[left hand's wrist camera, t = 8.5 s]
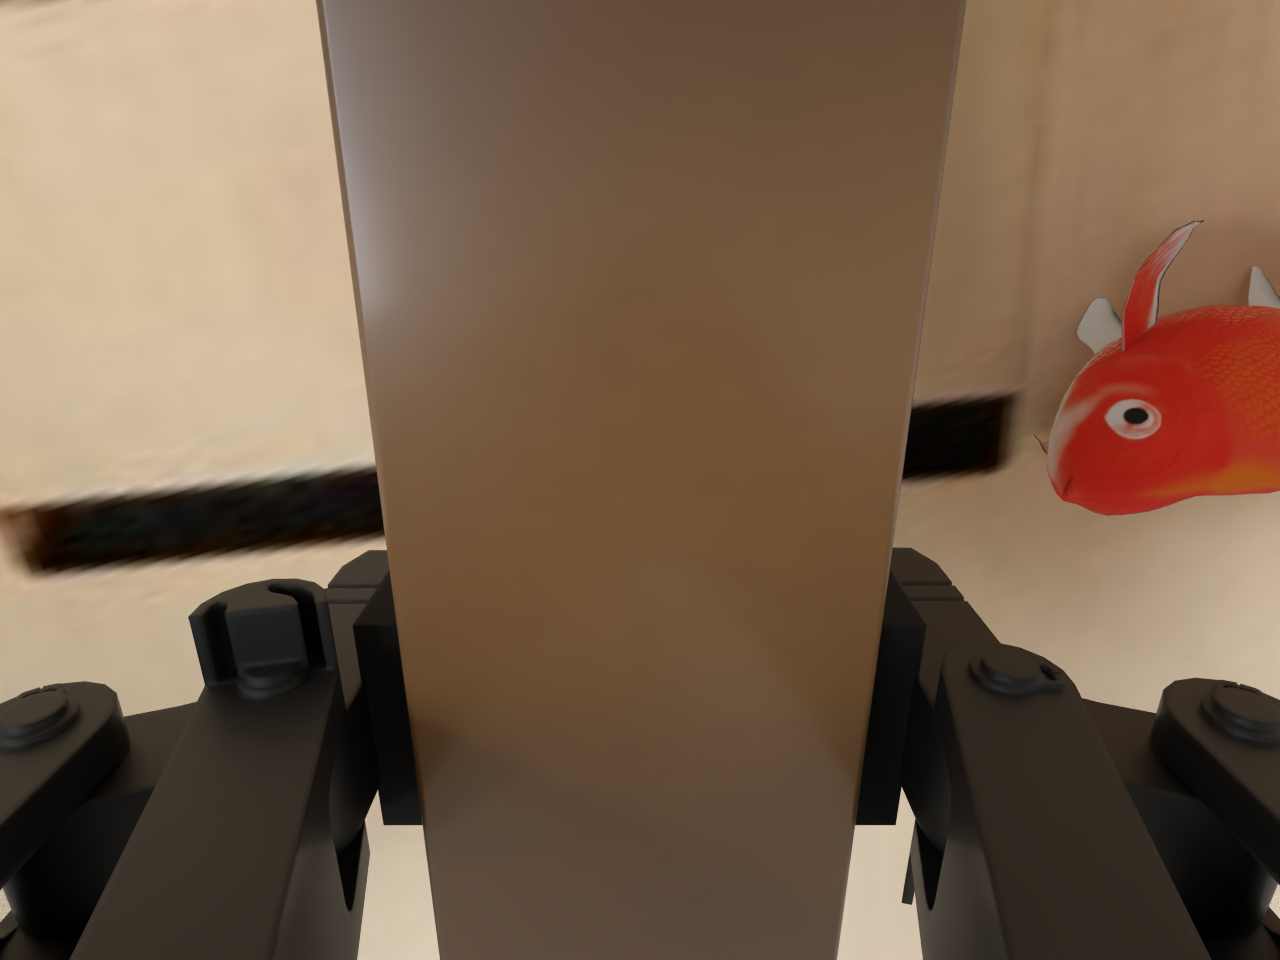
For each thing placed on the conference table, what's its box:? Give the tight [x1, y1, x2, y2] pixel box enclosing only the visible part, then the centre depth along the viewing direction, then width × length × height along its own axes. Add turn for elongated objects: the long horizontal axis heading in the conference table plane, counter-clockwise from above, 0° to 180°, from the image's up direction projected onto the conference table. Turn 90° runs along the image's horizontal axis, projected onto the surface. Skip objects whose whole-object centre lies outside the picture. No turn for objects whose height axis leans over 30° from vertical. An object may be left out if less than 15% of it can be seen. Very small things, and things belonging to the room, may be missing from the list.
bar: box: [316, 0, 966, 960], centre depth 9 cm, size 24×4×8 cm, turn 0°
